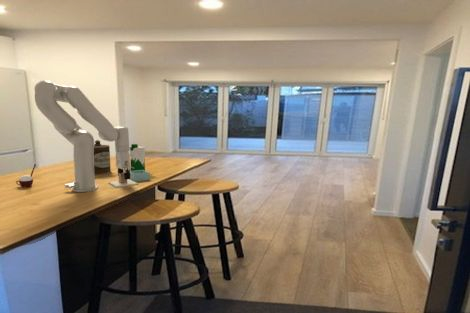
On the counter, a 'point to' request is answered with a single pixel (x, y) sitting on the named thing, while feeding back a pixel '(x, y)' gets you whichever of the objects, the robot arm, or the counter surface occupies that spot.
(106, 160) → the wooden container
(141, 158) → the milk carton
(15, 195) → the counter surface
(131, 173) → the dish
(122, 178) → the lid
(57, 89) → the robot arm
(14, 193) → the counter surface
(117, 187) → the mat
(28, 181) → the cocoa
